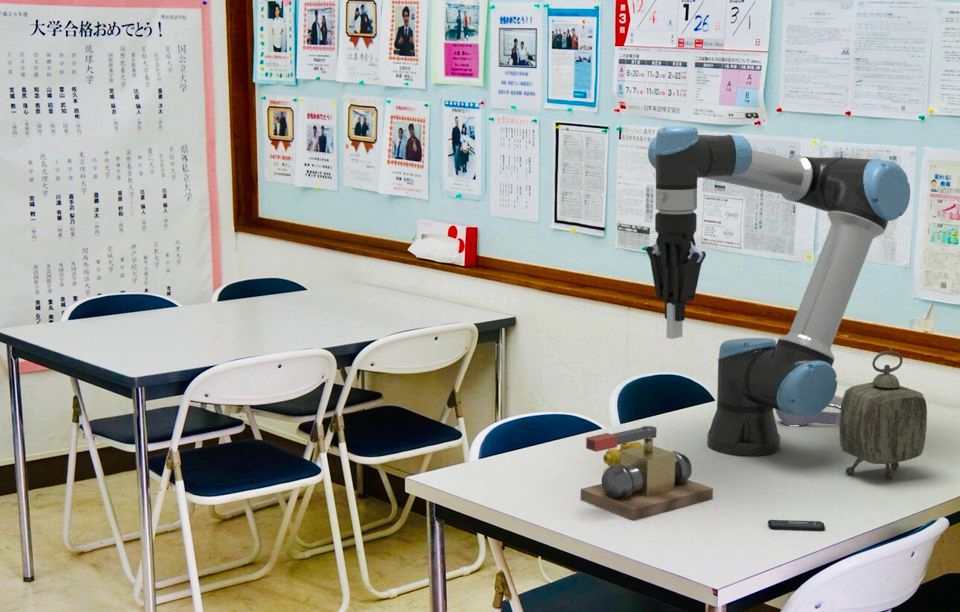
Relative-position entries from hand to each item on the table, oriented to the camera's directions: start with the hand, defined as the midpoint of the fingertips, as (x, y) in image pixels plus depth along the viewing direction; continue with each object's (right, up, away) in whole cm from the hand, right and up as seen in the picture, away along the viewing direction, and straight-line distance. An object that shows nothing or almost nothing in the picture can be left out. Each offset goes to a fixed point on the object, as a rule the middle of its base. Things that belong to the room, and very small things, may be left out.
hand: (674, 337), depth 229 cm
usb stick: (+18, -33, -18) cm, 42 cm away
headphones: (+42, -20, +56) cm, 73 cm away
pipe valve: (-6, -28, -4) cm, 29 cm away
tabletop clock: (+42, -28, +10) cm, 51 cm away
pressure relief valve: (-6, -27, +12) cm, 30 cm away
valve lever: (-11, -19, -10) cm, 24 cm away
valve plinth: (-6, -30, -4) cm, 30 cm away
